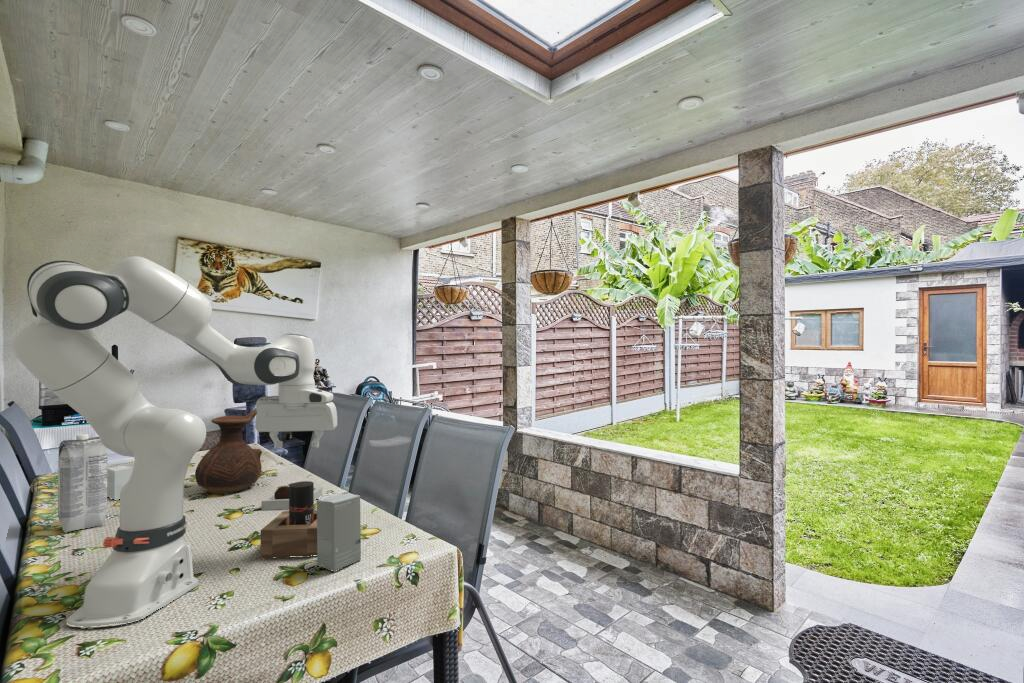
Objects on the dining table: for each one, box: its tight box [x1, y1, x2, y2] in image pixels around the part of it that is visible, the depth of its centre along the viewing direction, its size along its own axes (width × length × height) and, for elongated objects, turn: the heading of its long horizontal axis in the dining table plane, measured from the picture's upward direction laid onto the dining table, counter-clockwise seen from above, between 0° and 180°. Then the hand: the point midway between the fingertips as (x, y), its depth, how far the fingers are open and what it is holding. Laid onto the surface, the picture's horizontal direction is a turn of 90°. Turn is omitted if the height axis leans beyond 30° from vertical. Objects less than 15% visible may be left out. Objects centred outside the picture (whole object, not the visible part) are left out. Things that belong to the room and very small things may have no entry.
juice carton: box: [57, 434, 108, 533], centre depth 141 cm, size 9×10×27 cm
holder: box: [260, 509, 317, 559], centre depth 125 cm, size 14×14×7 cm
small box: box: [107, 464, 133, 501], centre depth 170 cm, size 8×6×10 cm
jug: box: [194, 407, 263, 495], centre depth 179 cm, size 22×22×30 cm
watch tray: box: [261, 486, 323, 511], centre depth 162 cm, size 14×14×3 cm
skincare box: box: [316, 492, 362, 572], centre depth 115 cm, size 8×7×16 cm
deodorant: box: [288, 480, 315, 525], centre depth 126 cm, size 6×6×15 cm
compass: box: [274, 484, 289, 499], centre depth 160 cm, size 8×8×7 cm
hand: (296, 448), depth 126 cm, fingers open, 8 cm apart
